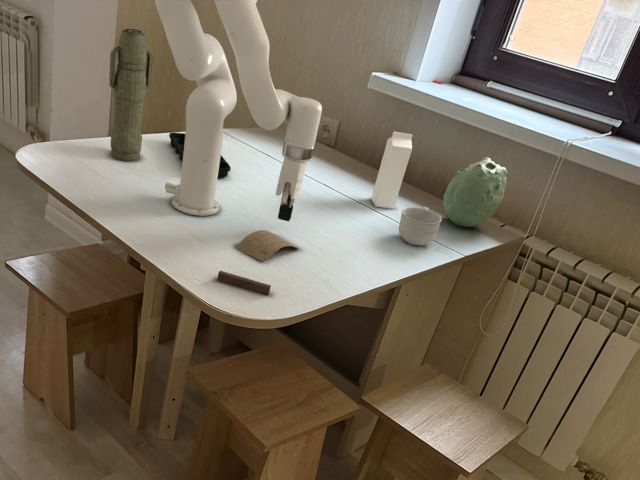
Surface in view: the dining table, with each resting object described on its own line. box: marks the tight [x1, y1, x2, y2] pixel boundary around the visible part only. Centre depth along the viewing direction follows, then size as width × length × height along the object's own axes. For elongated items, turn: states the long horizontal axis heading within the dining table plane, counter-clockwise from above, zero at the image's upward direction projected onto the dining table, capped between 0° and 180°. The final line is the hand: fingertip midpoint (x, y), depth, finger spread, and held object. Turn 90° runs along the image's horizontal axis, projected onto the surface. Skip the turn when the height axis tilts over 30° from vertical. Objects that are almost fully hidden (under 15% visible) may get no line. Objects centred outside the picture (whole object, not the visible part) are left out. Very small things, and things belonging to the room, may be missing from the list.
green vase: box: [442, 156, 508, 228], centre depth 200 cm, size 16×19×20 cm
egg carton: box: [168, 132, 232, 179], centre depth 209 cm, size 18×30×4 cm, turn 32°
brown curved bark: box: [236, 229, 300, 262], centre depth 168 cm, size 14×10×3 cm
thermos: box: [108, 28, 154, 163], centre depth 193 cm, size 9×12×35 cm
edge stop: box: [216, 270, 272, 296], centre depth 151 cm, size 12×1×2 cm, turn 75°
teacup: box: [398, 206, 443, 247], centre depth 188 cm, size 14×11×8 cm
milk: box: [370, 131, 413, 210], centre depth 202 cm, size 6×6×22 cm
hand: (284, 218), depth 178 cm, fingers closed
